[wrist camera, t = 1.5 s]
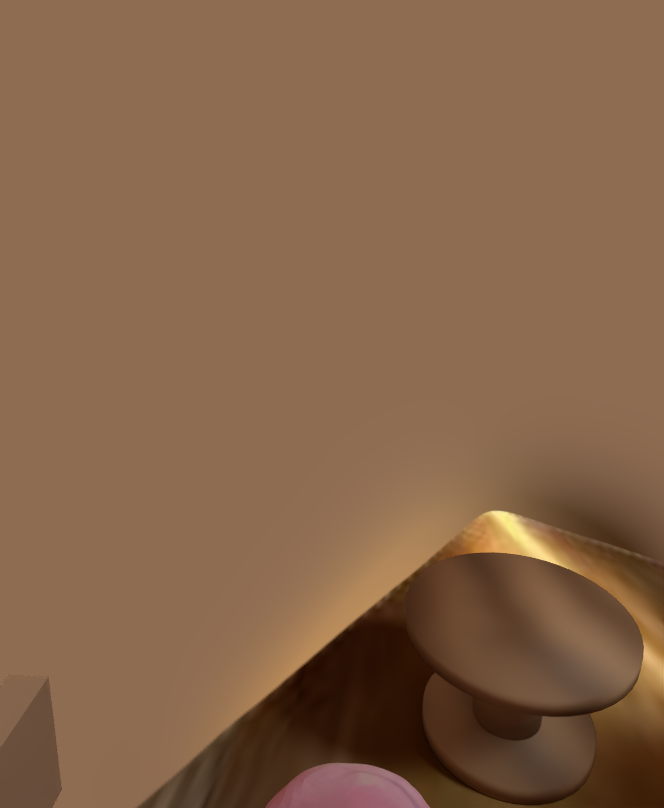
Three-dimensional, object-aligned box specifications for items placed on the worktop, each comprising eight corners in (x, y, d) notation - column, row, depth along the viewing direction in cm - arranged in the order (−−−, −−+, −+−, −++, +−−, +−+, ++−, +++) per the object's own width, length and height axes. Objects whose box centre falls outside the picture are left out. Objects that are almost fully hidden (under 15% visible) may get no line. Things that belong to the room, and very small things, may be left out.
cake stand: (524, 635, 48) (536, 538, 45) (672, 783, 35) (701, 661, 33) (367, 680, 43) (370, 574, 40) (474, 868, 31) (488, 734, 28)
